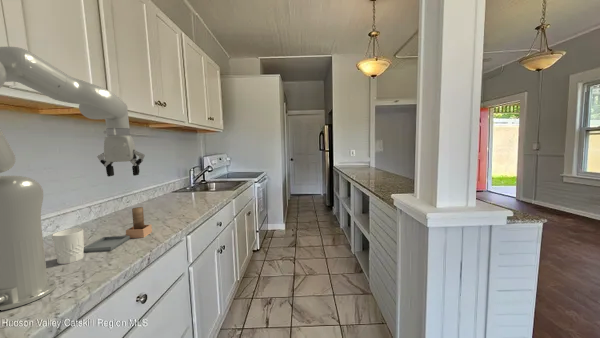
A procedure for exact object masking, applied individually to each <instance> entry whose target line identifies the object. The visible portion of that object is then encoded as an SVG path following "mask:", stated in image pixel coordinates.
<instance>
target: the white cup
mask: <svg viewBox="0 0 600 338" xmlns="http://www.w3.org/2000/svg"><path fill="white" fill-rule="evenodd" d="M84 233H85V232H84V229H83V228H69V229H63V230H59V231H56V232H54V233H52V235H51V238H52V242H53V243H52V244H53V249H54V253H55V256H56V261H57V264H59V265H66V264H67V265H68V264H72V263H75V262H79V261H81V260H82V259H84V256H85V252H84V247H85V240H84V239H85V237H84V235H85V234H84Z"/></svg>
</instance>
